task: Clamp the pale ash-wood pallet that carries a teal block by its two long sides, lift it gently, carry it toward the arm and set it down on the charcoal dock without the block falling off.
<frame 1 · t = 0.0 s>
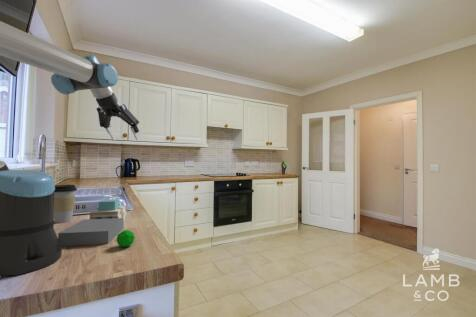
hand: (126, 138, 109), 36 cm above the countertop, tool tilted 35°, fingers open, 13 cm apart
coffee cup: (63, 221, 98), on the countertop
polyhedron: (125, 246, 71), on the countertop
teal block: (109, 208, 96), point 6 cm above the countertop, touching pallet
dock: (94, 236, 80), on the countertop
pallet: (109, 223, 96), on the countertop, touching teal block
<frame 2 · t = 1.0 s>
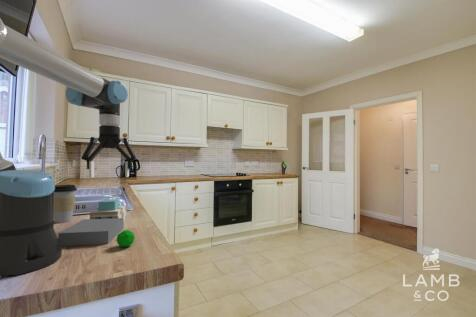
hand: (109, 177, 96), 19 cm above the countertop, tool pointing down, fingers open, 13 cm apart
teal block: (109, 208, 96), point 6 cm above the countertop
pallet: (109, 223, 96), on the countertop
everything else where it was.
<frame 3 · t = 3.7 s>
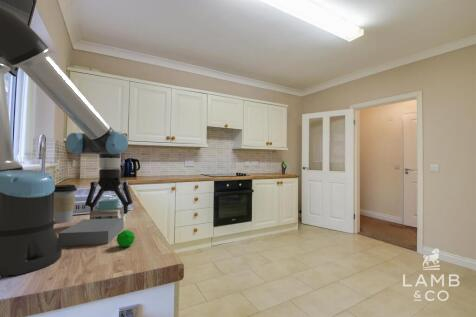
hand: (109, 222, 96), 0 cm above the countertop, tool pointing down, fingers closed on pallet, 10 cm apart
teal block: (109, 208, 96), point 6 cm above the countertop, touching pallet
pallet: (109, 222, 96), on the countertop, touching teal block, gripper
everything else where it was.
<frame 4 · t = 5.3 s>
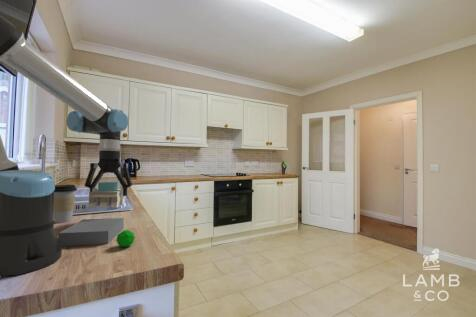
hand: (108, 204, 96), 8 cm above the countertop, tool pointing down, fingers closed on pallet, 10 cm apart
teal block: (108, 190, 96), point 14 cm above the countertop, touching pallet
pallet: (108, 204, 96), point 8 cm above the countertop, touching teal block, gripper
everything else where it was.
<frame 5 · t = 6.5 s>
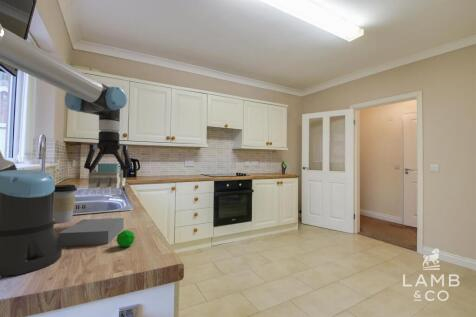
hand: (108, 185, 95), 15 cm above the countertop, tool pointing down, fingers closed on pallet, 10 cm apart
teal block: (108, 172, 95), point 21 cm above the countertop, touching pallet
pallet: (108, 186, 95), point 15 cm above the countertop, touching teal block, gripper
everything else where it was.
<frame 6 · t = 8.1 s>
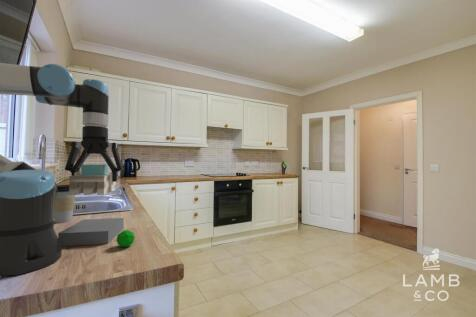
hand: (94, 191, 80), 15 cm above the countertop, tool pointing down, fingers closed on pallet, 10 cm apart
teal block: (94, 174, 80), point 21 cm above the countertop, touching pallet
pallet: (94, 192, 80), point 15 cm above the countertop, touching teal block, gripper
everything else where it was.
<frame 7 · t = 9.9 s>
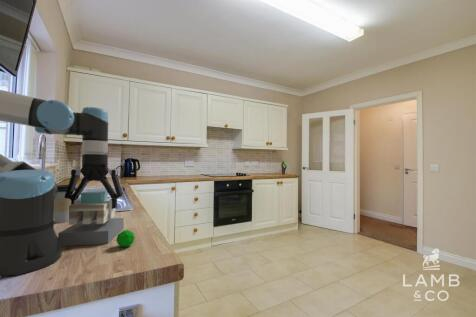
hand: (94, 218, 80), 6 cm above the countertop, tool pointing down, fingers closed on pallet, 10 cm apart
teal block: (94, 201, 80), point 12 cm above the countertop, touching pallet
pallet: (94, 219, 80), point 6 cm above the countertop, touching teal block, gripper
everything else where it was.
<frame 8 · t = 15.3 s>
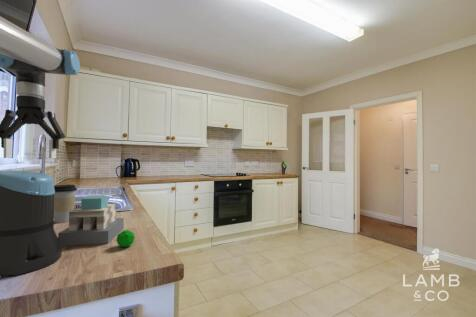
hand: (30, 158, 81), 27 cm above the countertop, tool pointing down, fingers open, 13 cm apart
teal block: (95, 207, 80), point 10 cm above the countertop, touching pallet
pallet: (94, 224, 80), point 4 cm above the countertop, touching teal block, dock
everything else where it was.
at the end: pallet 0.1 cm off-centre on the dock, point 4.0 cm above the dock's base; teal block inside the target area on the pallet (0.2 cm from its centre), point 6.0 cm above the pallet's base; the gripper is holding nothing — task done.
